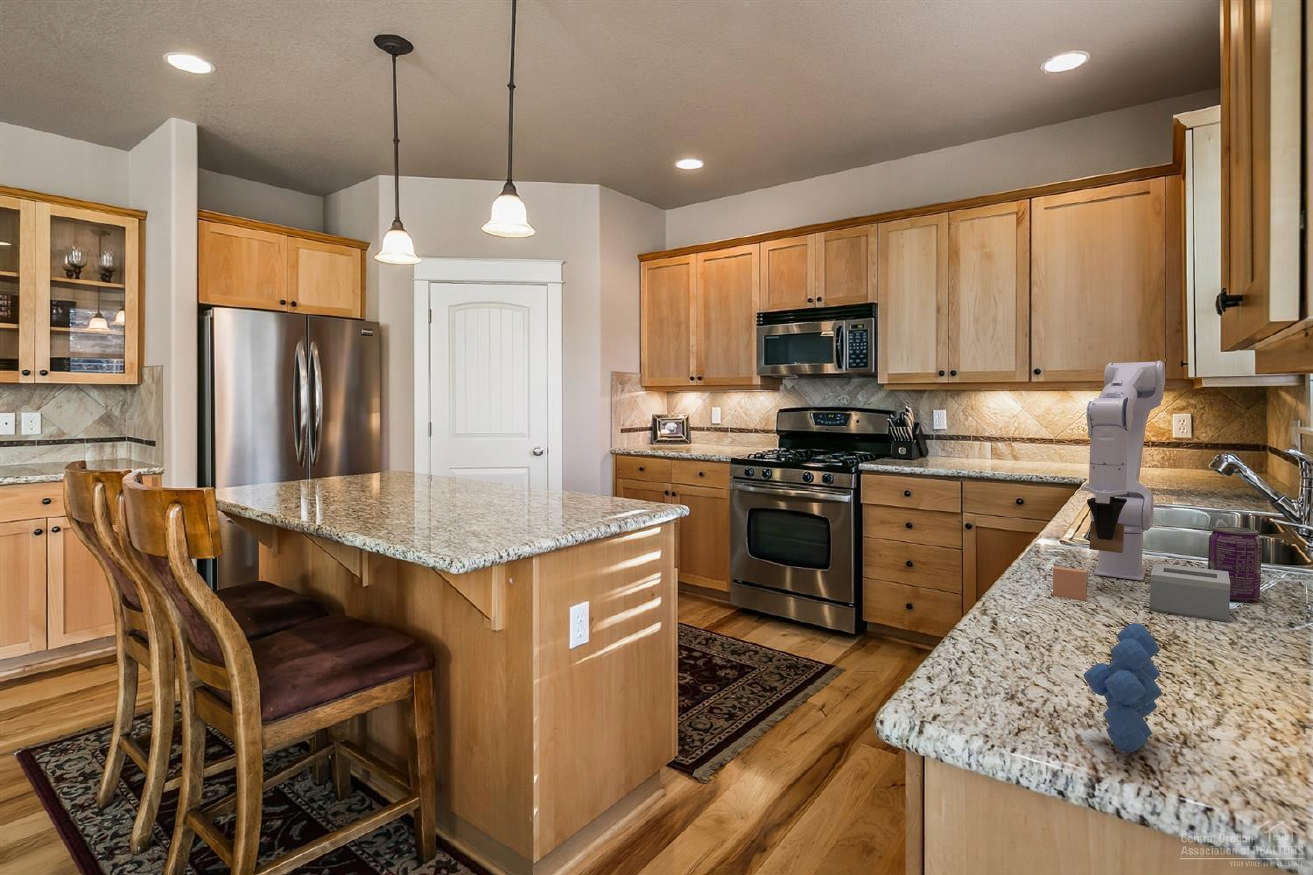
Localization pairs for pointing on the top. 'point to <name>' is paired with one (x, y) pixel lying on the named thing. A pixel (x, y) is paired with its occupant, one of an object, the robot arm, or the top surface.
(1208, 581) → the coin box
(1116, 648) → the grapes
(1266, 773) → the top surface
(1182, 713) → the top surface
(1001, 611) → the top surface
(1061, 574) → the block
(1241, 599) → the beverage can
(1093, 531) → the block
